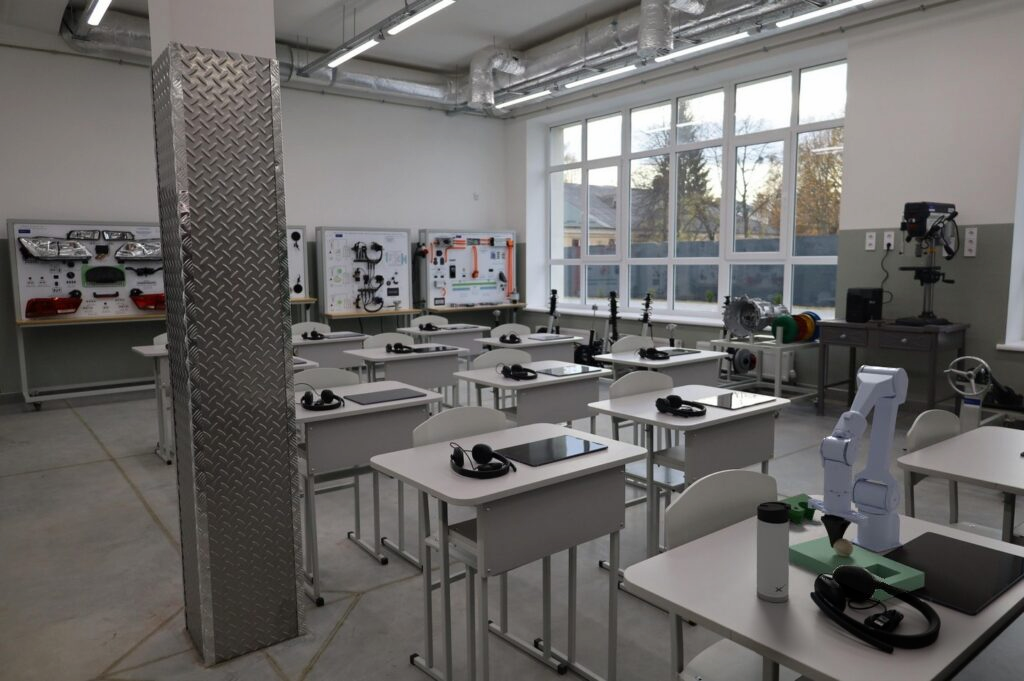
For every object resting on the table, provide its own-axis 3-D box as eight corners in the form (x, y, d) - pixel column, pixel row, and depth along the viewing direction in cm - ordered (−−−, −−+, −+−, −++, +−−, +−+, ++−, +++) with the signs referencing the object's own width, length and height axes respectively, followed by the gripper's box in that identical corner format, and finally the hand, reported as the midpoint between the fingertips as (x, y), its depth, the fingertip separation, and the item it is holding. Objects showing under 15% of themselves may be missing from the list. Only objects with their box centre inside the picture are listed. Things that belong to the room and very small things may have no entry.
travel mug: (787, 606, 137) (788, 510, 135) (753, 598, 141) (753, 505, 139) (792, 593, 142) (793, 501, 141) (760, 586, 146) (760, 496, 144)
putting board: (786, 559, 160) (786, 546, 159) (828, 547, 166) (828, 535, 165) (880, 601, 138) (880, 587, 138) (924, 586, 144) (924, 572, 144)
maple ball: (839, 545, 157) (844, 532, 155) (854, 557, 153) (859, 544, 152) (827, 550, 155) (832, 537, 153) (841, 562, 152) (846, 549, 150)
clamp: (794, 539, 182) (792, 515, 178) (775, 528, 187) (773, 504, 183) (822, 516, 187) (822, 491, 182) (804, 505, 191) (803, 481, 187)
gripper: (799, 483, 158) (797, 539, 160) (853, 501, 145) (851, 562, 147) (820, 479, 161) (818, 534, 163) (875, 496, 148) (873, 556, 149)
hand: (835, 547), depth 155 cm, fingers closed, pressing on maple ball
